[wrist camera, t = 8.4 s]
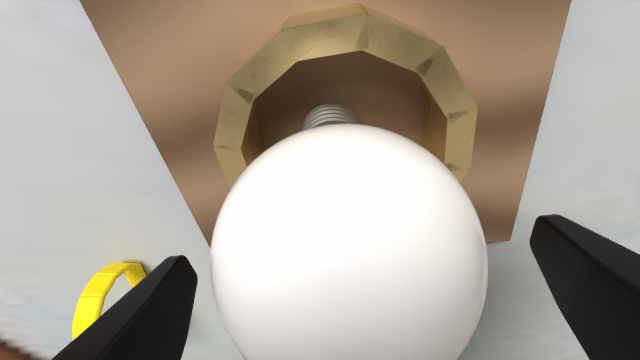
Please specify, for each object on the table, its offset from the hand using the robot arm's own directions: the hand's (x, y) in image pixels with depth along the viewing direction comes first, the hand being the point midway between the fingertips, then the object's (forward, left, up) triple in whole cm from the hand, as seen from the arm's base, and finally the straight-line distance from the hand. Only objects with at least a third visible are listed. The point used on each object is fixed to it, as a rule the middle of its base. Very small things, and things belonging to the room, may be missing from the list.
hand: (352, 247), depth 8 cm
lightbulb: (0, 0, -8) cm, 8 cm away
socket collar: (0, 0, -9) cm, 9 cm away
